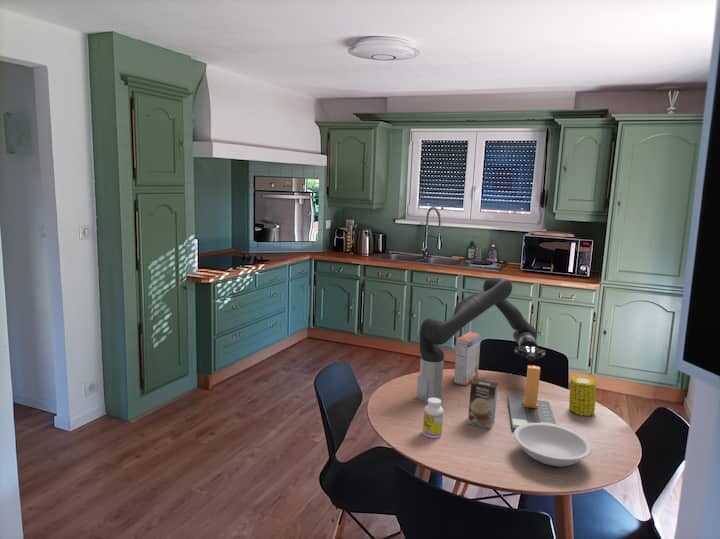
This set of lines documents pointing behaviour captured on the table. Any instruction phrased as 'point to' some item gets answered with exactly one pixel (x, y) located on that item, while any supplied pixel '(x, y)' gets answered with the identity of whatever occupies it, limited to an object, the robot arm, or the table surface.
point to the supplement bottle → (433, 418)
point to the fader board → (529, 413)
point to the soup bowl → (552, 443)
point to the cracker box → (467, 358)
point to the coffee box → (482, 403)
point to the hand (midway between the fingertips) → (531, 358)
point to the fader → (532, 387)
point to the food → (582, 395)
